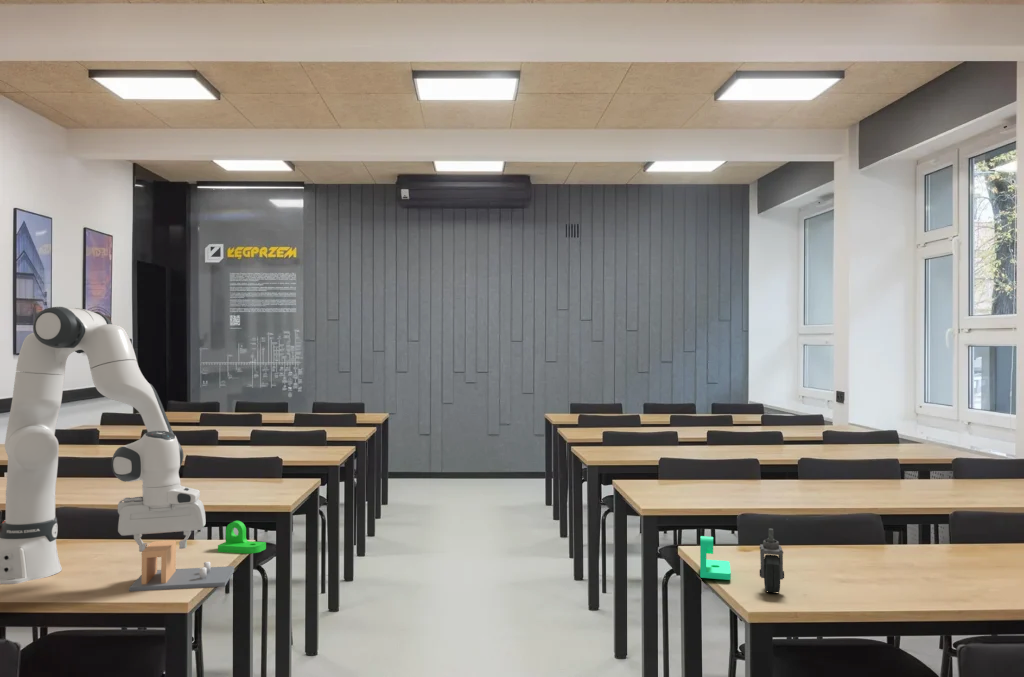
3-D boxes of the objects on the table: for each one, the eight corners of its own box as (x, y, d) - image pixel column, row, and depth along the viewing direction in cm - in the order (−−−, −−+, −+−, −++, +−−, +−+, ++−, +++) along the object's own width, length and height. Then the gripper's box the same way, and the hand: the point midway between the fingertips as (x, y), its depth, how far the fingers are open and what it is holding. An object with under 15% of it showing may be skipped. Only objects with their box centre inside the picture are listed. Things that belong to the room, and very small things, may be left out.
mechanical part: (217, 552, 220) (218, 524, 220) (229, 546, 226) (229, 520, 226) (255, 554, 218) (255, 526, 218) (265, 548, 223) (266, 522, 224)
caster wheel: (782, 587, 189) (782, 527, 189) (785, 599, 180) (785, 536, 180) (758, 585, 191) (758, 526, 191) (760, 597, 181) (761, 535, 182)
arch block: (141, 584, 184) (141, 551, 184) (152, 572, 194) (152, 541, 194) (165, 583, 185) (166, 550, 186) (175, 571, 195) (175, 540, 195)
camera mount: (730, 584, 192) (730, 544, 192) (700, 581, 194) (700, 541, 194) (729, 570, 204) (729, 532, 204) (700, 568, 206) (700, 531, 206)
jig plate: (129, 593, 182) (129, 577, 182) (145, 576, 196) (145, 561, 196) (224, 588, 186) (225, 572, 186) (234, 571, 200) (234, 556, 200)
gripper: (113, 500, 185) (115, 556, 185) (201, 495, 189) (203, 549, 190) (121, 495, 191) (122, 549, 191) (206, 490, 196) (207, 543, 196)
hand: (163, 549), depth 190 cm, fingers open, 8 cm apart
